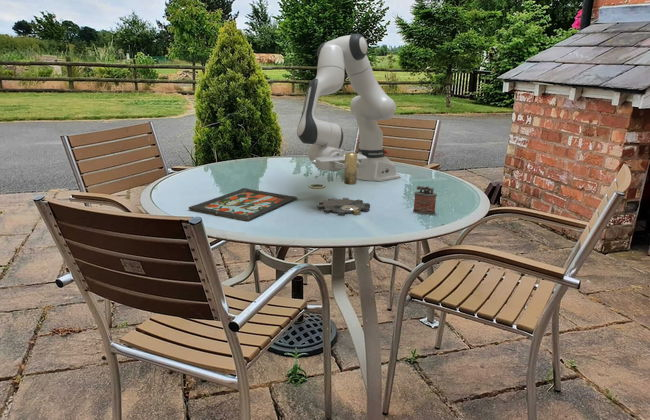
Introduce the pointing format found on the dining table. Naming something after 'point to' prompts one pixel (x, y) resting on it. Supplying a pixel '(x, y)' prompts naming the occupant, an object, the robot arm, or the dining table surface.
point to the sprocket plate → (343, 206)
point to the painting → (244, 204)
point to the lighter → (424, 200)
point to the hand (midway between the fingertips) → (352, 166)
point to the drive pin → (350, 168)
